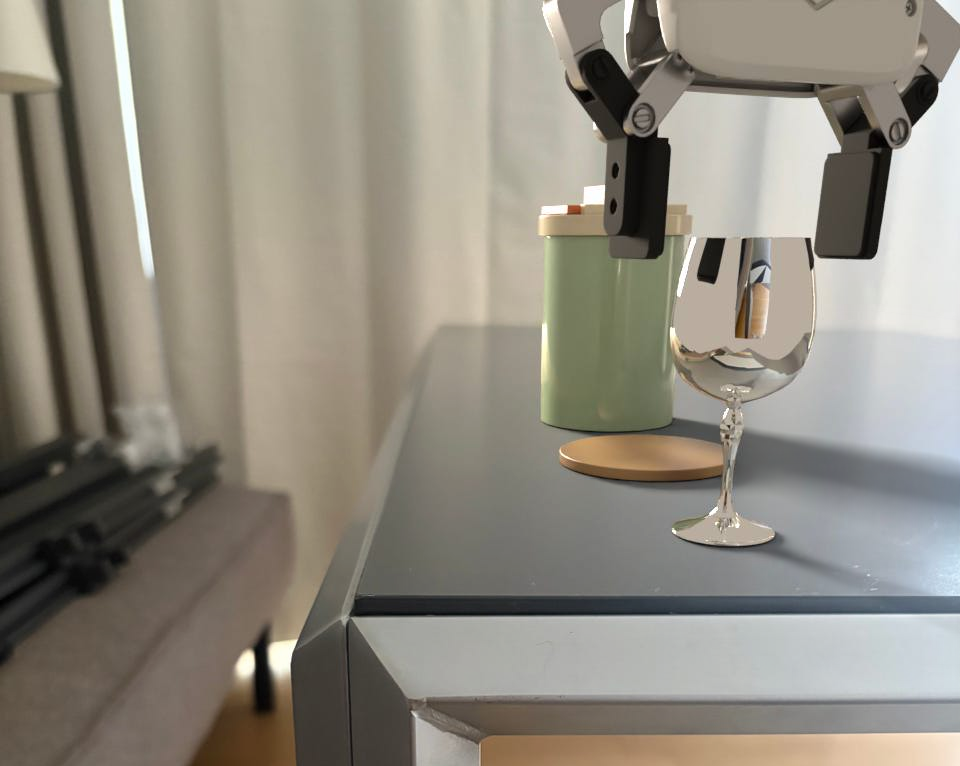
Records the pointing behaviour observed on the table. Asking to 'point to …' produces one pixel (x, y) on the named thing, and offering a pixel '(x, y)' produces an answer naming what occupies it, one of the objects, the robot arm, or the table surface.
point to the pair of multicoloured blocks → (590, 197)
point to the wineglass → (740, 346)
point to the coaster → (644, 457)
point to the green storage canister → (607, 326)
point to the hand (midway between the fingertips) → (743, 258)
